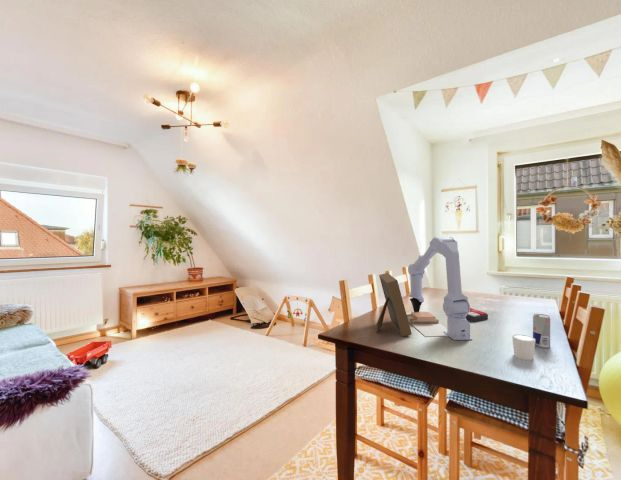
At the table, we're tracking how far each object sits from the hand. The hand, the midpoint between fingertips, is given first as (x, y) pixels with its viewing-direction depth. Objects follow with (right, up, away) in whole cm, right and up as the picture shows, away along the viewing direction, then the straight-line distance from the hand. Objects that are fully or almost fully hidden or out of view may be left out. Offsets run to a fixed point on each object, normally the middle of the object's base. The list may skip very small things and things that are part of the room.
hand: (416, 312), depth 154 cm
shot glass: (+21, -4, -49) cm, 54 cm away
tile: (0, -1, -9) cm, 9 cm away
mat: (0, -3, -20) cm, 20 cm away
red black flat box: (+27, -3, -1) cm, 27 cm away
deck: (0, -3, -4) cm, 5 cm away
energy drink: (+35, -3, -40) cm, 53 cm away
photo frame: (-19, -4, -17) cm, 25 cm away
